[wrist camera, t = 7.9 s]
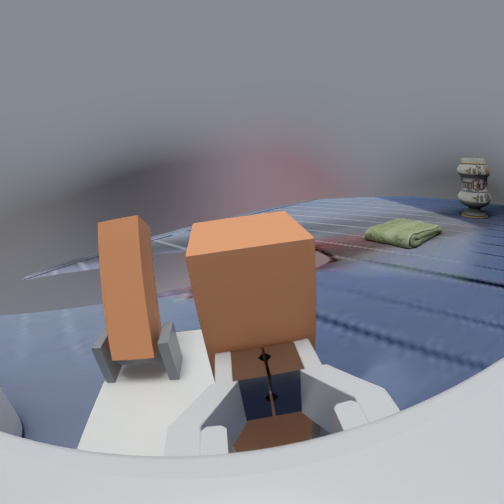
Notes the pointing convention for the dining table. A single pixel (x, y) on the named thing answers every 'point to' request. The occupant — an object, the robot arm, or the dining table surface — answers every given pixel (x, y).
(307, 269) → the lever
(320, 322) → the dining table surface
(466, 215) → the apothecary jar
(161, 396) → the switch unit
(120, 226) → the lever
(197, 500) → the robot arm
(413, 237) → the washcloth
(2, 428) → the milk bottle
